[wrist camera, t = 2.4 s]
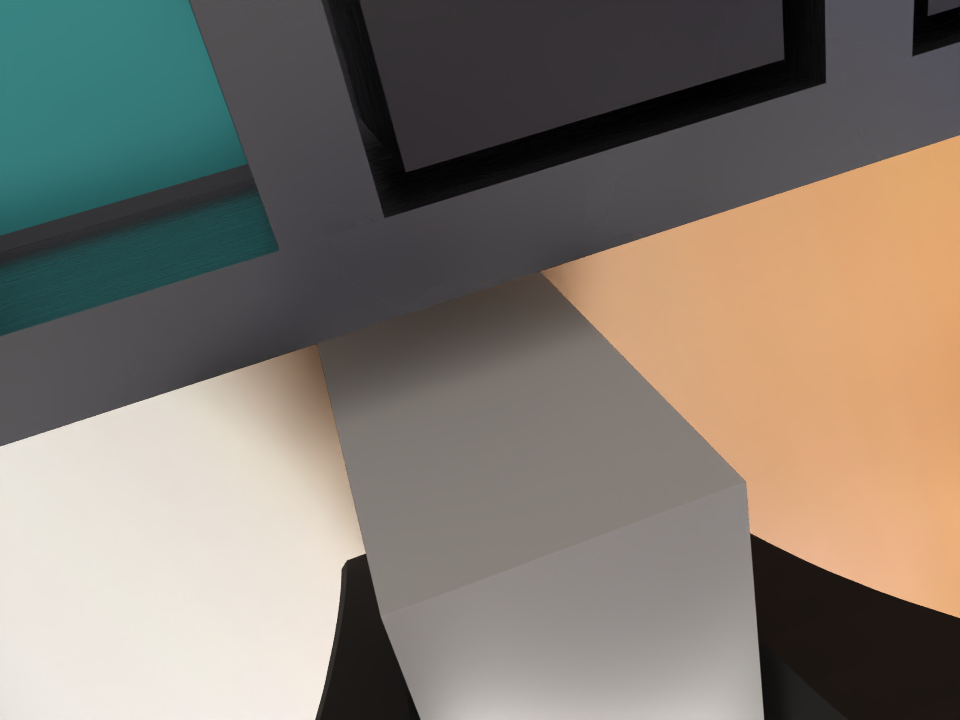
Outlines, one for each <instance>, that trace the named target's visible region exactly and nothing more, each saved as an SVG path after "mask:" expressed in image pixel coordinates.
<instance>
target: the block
mask: <svg viewBox="0 0 960 720" xmlns="http://www.w3.org/2000/svg"><path fill="white" fill-rule="evenodd" d="M317 346H318V350H319V354H320V359H321V363H322V367H323V371H324V376H325V380H326V384H327V389H328V393H329V397H330V401H331V406H332V410H333V414H334V419H335V423H336V427H337V431H338V436H339V440H340V444H341V448H342V453H343V457H344V461H345V466H346V470H347V474H348V478H349V483H350V487H351V491H352V496H353V500H354V504H355V508H356V513H357V517H358V521H359V525H360V530H361V534H362V538H363V543H364V547H365V551H366V555H367V560H368V564H369V568H370V573H371V577H372V581H373V585H374V590H375V594H376V598H377V602H378V607H379V611H380V615H381V619H382V621H383V624H384V626H385V629H386V631H387V634H388V637H389V639H390V642H391V644H392V647H393V650H394V652H395V655H396V657H397V660H398V662H399V665H400V668H401V670H402V673H403V675H404V678H405V681H406V683H407V686H408V688H409V691H410V693H411V696H412V699H413V701H414V704H415V706H416V709H417V711H418V714H419V717H420V719H421V720H764V712H763V698H762V685H761V672H760V659H759V646H758V633H757V620H756V606H755V593H754V580H753V567H752V554H751V541H750V528H749V514H748V501H747V488H746V481H745V480H744V479H743V478H742V477H741V476H740V475H739V474H738V473H737V472H736V471H735V470H734V469H733V468H732V467H731V466H730V465H729V464H728V463H727V462H726V461H725V460H724V459H723V458H722V457H721V456H720V455H719V454H718V453H717V452H716V451H715V450H714V449H713V448H712V447H711V445H710V444H709V443H708V442H707V441H706V440H705V439H704V438H703V437H702V436H701V435H700V434H699V433H698V432H697V431H696V430H695V429H694V428H693V427H692V426H691V425H690V424H689V423H688V422H687V421H686V420H685V419H684V418H683V417H682V416H681V415H680V414H679V413H678V412H677V411H676V410H675V409H674V408H673V407H672V406H671V405H670V404H669V403H668V402H667V401H666V400H665V399H664V398H663V397H662V396H661V395H660V393H659V392H658V391H657V390H656V389H655V388H654V387H653V386H652V385H651V384H650V383H649V382H648V381H647V380H646V379H645V378H644V377H643V376H642V375H641V374H640V373H639V372H638V371H637V370H636V369H635V368H634V367H633V366H632V365H631V364H630V363H629V362H628V361H627V360H626V359H625V358H624V357H623V356H622V355H621V354H620V353H619V352H618V351H617V350H616V349H615V348H614V347H613V346H612V345H611V344H610V343H609V342H608V340H607V339H606V338H605V337H604V336H603V335H602V334H601V333H600V332H599V331H598V330H597V329H596V328H595V327H594V326H593V325H592V324H591V323H590V322H589V321H588V320H587V319H586V318H585V317H584V316H583V315H582V314H581V313H580V312H579V311H578V310H577V309H576V308H575V307H574V306H573V305H572V304H571V303H570V302H569V301H568V300H567V299H566V298H565V297H564V296H563V295H562V294H561V293H560V292H559V291H558V290H557V288H556V287H555V286H554V285H553V284H552V283H551V282H550V281H549V280H548V279H547V278H546V277H545V276H544V275H543V274H542V273H541V272H540V271H539V272H536V273H533V274H530V275H527V276H524V277H521V278H518V279H515V280H511V281H508V282H505V283H502V284H499V285H496V286H493V287H490V288H487V289H484V290H481V291H478V292H475V293H471V294H468V295H465V296H462V297H459V298H456V299H453V300H450V301H447V302H444V303H441V304H438V305H434V306H431V307H428V308H425V309H422V310H419V311H416V312H413V313H410V314H407V315H404V316H401V317H398V318H394V319H391V320H388V321H385V322H382V323H379V324H376V325H373V326H370V327H367V328H364V329H361V330H357V331H354V332H351V333H348V334H345V335H342V336H339V337H336V338H333V339H330V340H327V341H324V342H321V343H317Z"/></svg>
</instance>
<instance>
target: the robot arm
mask: <svg viewBox="0 0 960 720" xmlns="http://www.w3.org/2000/svg"><path fill="white" fill-rule="evenodd" d="M750 541H751V554H752V567H753V580H754V593H755V606H756V620H757V633H758V646H759V659H760V672H761V685H762V698H763V712H764V720H960V618H958V617H954V616H951V615H948V614H945V613H942V612H939V611H936V610H933V609H929V608H926V607H923V606H920V605H917V604H914V603H911V602H908V601H905V600H902V599H899V598H896V597H894V596H891V595H888V594H885V593H882V592H880V591H877V590H874V589H872V588H869V587H867V586H864V585H862V584H859V583H857V582H854V581H852V580H849V579H847V578H844V577H842V576H839V575H837V574H834V573H832V572H829V571H827V570H825V569H822V568H820V567H818V566H816V565H813V564H811V563H809V562H807V561H805V560H803V559H801V558H798V557H796V556H794V555H792V554H790V553H788V552H786V551H784V550H782V549H780V548H778V547H776V546H774V545H772V544H770V543H768V542H766V541H764V540H762V539H760V538H758V537H757V536H755V535H753V534H751V533H750ZM315 720H421V719H420V717H419V714H418V711H417V709H416V706H415V704H414V701H413V699H412V696H411V693H410V691H409V688H408V686H407V683H406V681H405V678H404V675H403V673H402V670H401V668H400V665H399V662H398V660H397V657H396V655H395V652H394V650H393V647H392V644H391V642H390V639H389V637H388V634H387V631H386V629H385V626H384V624H383V621H382V619H381V615H380V611H379V607H378V602H377V598H376V594H375V590H374V585H373V581H372V577H371V573H370V568H369V564H368V560H367V555H366V554H364V555H361V556H358V557H355V558H353V559H350V560H347V561H346V563H345V565H344V566H343V568H342V575H341V593H340V603H339V611H338V618H337V624H336V630H335V637H334V642H333V647H332V652H331V656H330V661H329V666H328V671H327V676H326V681H325V685H324V689H323V693H322V697H321V701H320V705H319V708H318V712H317V715H316V719H315Z"/></svg>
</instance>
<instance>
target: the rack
mask: <svg viewBox="0 0 960 720" xmlns="http://www.w3.org/2000/svg"><path fill="white" fill-rule="evenodd" d="M958 135H960V0H0V446H3V445H6V444H9V443H13V442H16V441H19V440H22V439H25V438H28V437H31V436H34V435H37V434H40V433H43V432H46V431H49V430H53V429H56V428H59V427H62V426H65V425H68V424H71V423H74V422H77V421H80V420H83V419H86V418H90V417H93V416H96V415H99V414H102V413H105V412H108V411H111V410H114V409H117V408H120V407H123V406H126V405H130V404H133V403H136V402H139V401H142V400H145V399H148V398H151V397H154V396H157V395H160V394H163V393H167V392H170V391H173V390H176V389H179V388H182V387H185V386H188V385H191V384H194V383H197V382H200V381H203V380H207V379H210V378H213V377H216V376H219V375H222V374H225V373H228V372H231V371H234V370H237V369H240V368H244V367H247V366H250V365H253V364H256V363H259V362H262V361H265V360H268V359H271V358H274V357H277V356H280V355H284V354H287V353H290V352H293V351H296V350H299V349H302V348H305V347H308V346H311V345H314V344H317V343H321V342H324V341H327V340H330V339H333V338H336V337H339V336H342V335H345V334H348V333H351V332H354V331H357V330H361V329H364V328H367V327H370V326H373V325H376V324H379V323H382V322H385V321H388V320H391V319H394V318H398V317H401V316H404V315H407V314H410V313H413V312H416V311H419V310H422V309H425V308H428V307H431V306H434V305H438V304H441V303H444V302H447V301H450V300H453V299H456V298H459V297H462V296H465V295H468V294H471V293H475V292H478V291H481V290H484V289H487V288H490V287H493V286H496V285H499V284H502V283H505V282H508V281H511V280H515V279H518V278H521V277H524V276H527V275H530V274H533V273H536V272H539V271H542V270H545V269H548V268H552V267H555V266H558V265H561V264H564V263H567V262H570V261H573V260H576V259H579V258H582V257H585V256H589V255H592V254H595V253H598V252H601V251H604V250H607V249H610V248H613V247H616V246H619V245H622V244H625V243H629V242H632V241H635V240H638V239H641V238H644V237H647V236H650V235H653V234H656V233H659V232H662V231H666V230H669V229H672V228H675V227H678V226H681V225H684V224H687V223H690V222H693V221H696V220H699V219H702V218H706V217H709V216H712V215H715V214H718V213H721V212H724V211H727V210H730V209H733V208H736V207H739V206H743V205H746V204H749V203H752V202H755V201H758V200H761V199H764V198H767V197H770V196H773V195H776V194H779V193H783V192H786V191H789V190H792V189H795V188H798V187H801V186H804V185H807V184H810V183H813V182H816V181H820V180H823V179H826V178H829V177H832V176H835V175H838V174H841V173H844V172H847V171H850V170H853V169H856V168H860V167H863V166H866V165H869V164H872V163H875V162H878V161H881V160H884V159H887V158H890V157H893V156H897V155H900V154H903V153H906V152H909V151H912V150H915V149H918V148H921V147H924V146H927V145H930V144H933V143H937V142H940V141H943V140H946V139H949V138H952V137H955V136H958Z"/></svg>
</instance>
